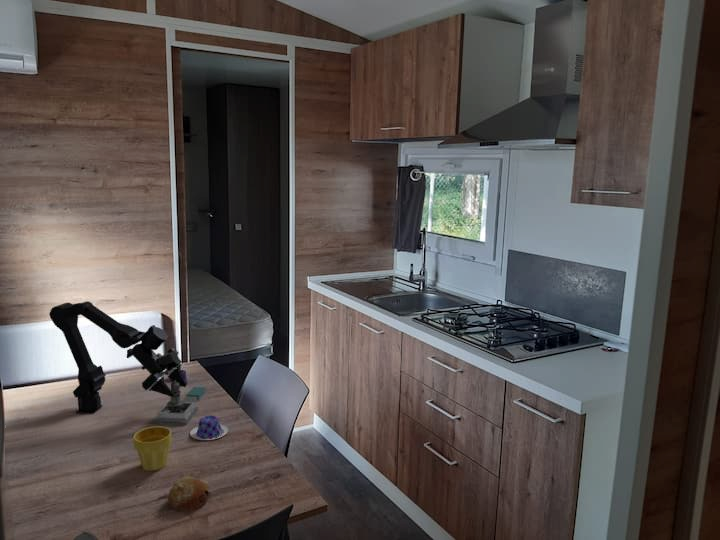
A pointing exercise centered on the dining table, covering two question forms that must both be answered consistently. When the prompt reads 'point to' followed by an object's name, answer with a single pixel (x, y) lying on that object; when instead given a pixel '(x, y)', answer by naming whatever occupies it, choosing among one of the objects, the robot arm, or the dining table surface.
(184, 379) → the lever
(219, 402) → the dining table surface
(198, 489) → the bread roll
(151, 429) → the plant pot
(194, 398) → the square frying pan
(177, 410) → the chess piece
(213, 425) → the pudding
